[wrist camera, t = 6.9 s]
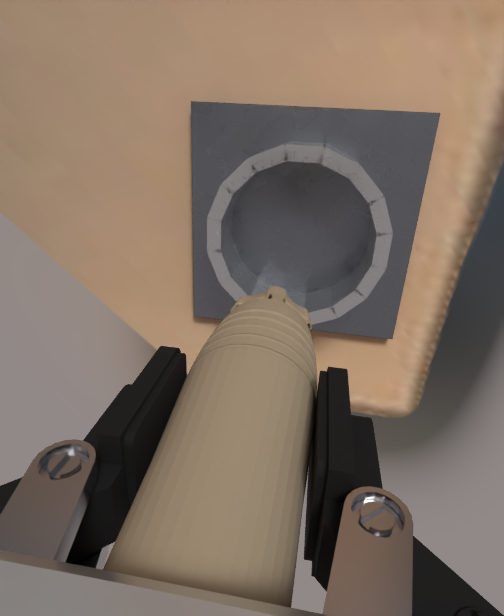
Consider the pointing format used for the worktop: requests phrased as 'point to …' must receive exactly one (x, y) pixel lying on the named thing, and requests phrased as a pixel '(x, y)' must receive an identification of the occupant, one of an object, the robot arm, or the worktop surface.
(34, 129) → the worktop surface
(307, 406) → the handle
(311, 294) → the duct collar
